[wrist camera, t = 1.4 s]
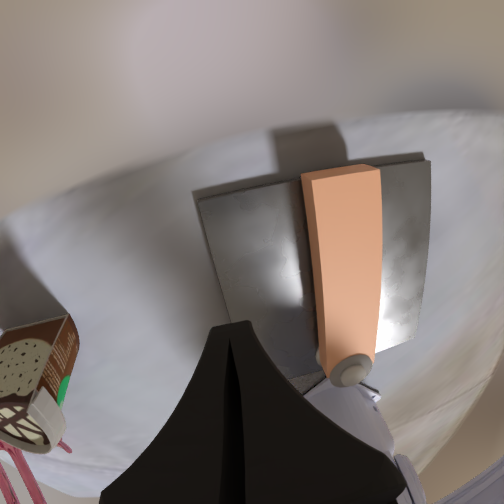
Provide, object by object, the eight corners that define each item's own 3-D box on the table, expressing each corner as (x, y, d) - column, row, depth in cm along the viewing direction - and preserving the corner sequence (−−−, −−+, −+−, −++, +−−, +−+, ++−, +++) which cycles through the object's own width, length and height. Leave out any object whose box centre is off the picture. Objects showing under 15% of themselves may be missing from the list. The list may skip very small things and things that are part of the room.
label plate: (425, 159, 17) (432, 161, 17) (411, 335, 25) (415, 340, 24) (198, 199, 17) (197, 203, 16) (251, 383, 24) (252, 390, 23)
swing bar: (362, 359, 23) (375, 383, 21) (319, 372, 23) (330, 398, 21) (361, 163, 16) (387, 172, 13) (299, 173, 16) (316, 183, 13)
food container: (31, 375, 22) (0, 447, 13) (-2, 331, 19) (-47, 401, 10) (119, 365, 22) (95, 465, 13) (82, 310, 19) (32, 412, 10)
